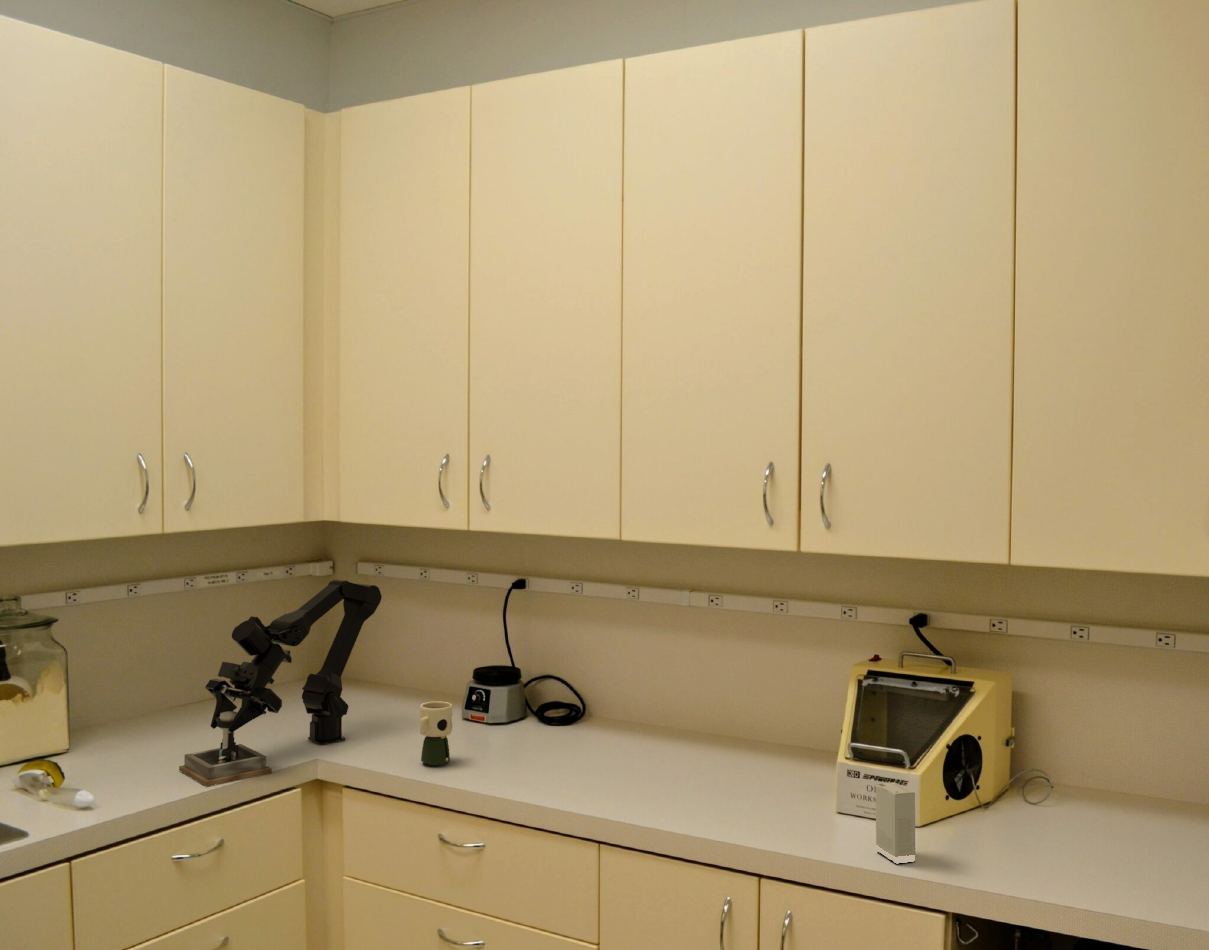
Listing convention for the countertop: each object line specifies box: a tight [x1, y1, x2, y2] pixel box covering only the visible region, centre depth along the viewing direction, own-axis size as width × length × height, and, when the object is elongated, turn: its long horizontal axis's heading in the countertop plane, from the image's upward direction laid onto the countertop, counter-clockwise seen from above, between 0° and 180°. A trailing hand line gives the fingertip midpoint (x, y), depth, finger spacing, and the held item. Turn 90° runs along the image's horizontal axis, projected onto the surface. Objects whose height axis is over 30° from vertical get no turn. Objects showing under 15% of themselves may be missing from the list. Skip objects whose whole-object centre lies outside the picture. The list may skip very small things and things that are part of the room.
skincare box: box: [874, 781, 916, 857], centre depth 177 cm, size 6×4×12 cm
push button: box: [216, 711, 238, 763], centre depth 218 cm, size 7×5×10 cm
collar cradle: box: [178, 743, 273, 787], centre depth 218 cm, size 14×14×4 cm
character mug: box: [419, 700, 453, 766], centre depth 226 cm, size 11×7×13 cm, turn 154°
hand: (220, 729), depth 217 cm, fingers closed on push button, 5 cm apart
